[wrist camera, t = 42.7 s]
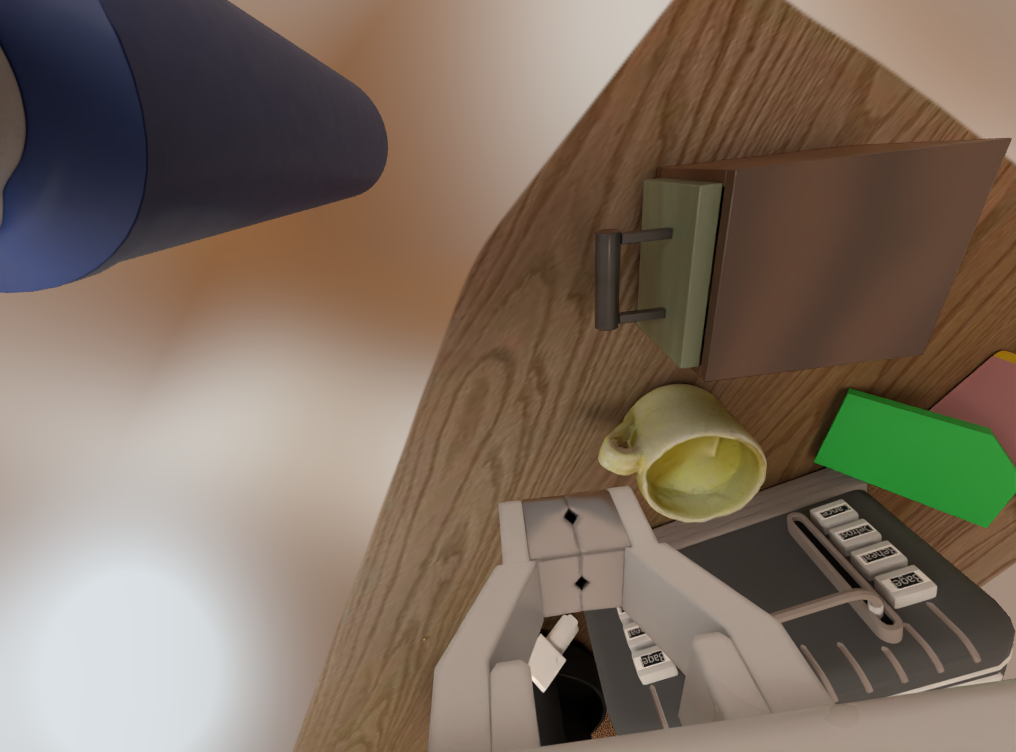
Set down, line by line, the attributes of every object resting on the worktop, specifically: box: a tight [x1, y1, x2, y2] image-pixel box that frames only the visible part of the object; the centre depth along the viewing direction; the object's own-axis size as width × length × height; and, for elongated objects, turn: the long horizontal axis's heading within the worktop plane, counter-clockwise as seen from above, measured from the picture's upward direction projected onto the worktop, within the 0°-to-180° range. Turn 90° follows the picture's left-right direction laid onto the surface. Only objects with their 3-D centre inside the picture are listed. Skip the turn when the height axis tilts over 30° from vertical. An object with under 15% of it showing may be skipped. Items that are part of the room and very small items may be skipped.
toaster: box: [583, 468, 1015, 736], centre depth 42 cm, size 30×36×17 cm
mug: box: [598, 384, 767, 523], centre depth 34 cm, size 12×10×10 cm
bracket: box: [814, 388, 1016, 528], centre depth 37 cm, size 12×8×7 cm
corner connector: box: [528, 614, 579, 693], centre depth 48 cm, size 8×8×2 cm
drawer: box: [595, 178, 725, 369], centre depth 26 cm, size 17×10×8 cm, turn 96°
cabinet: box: [656, 138, 1011, 382], centre depth 27 cm, size 14×12×10 cm
